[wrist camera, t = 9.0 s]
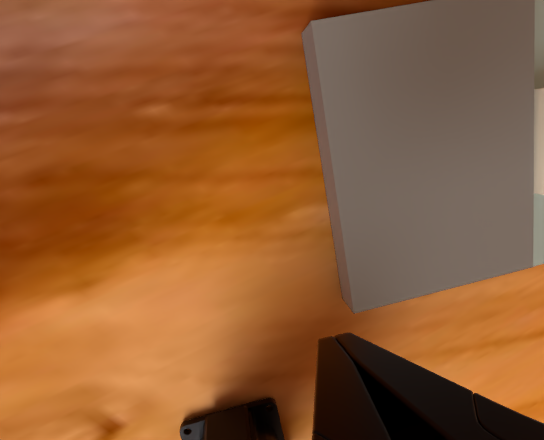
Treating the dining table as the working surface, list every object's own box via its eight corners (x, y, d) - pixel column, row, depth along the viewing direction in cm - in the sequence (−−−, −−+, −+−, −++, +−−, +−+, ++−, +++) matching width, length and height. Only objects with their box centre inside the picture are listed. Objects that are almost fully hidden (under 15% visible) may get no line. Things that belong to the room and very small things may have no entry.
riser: (507, 256, 23) (533, 267, 21) (342, 298, 22) (354, 313, 20) (503, -2, 19) (534, -17, 17) (301, 33, 18) (311, 21, 16)
